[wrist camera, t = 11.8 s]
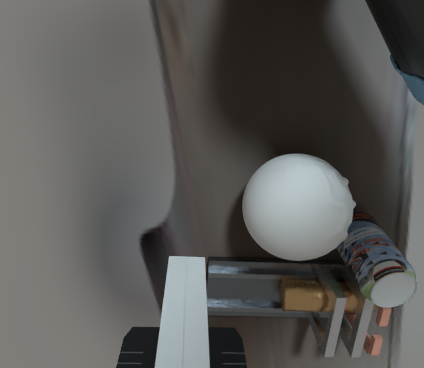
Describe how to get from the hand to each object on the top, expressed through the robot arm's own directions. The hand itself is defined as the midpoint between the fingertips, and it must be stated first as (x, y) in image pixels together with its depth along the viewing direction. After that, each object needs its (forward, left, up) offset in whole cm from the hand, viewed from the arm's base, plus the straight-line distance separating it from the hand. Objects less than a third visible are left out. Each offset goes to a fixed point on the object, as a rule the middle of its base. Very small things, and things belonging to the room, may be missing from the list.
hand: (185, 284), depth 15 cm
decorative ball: (+6, +12, -30) cm, 33 cm away
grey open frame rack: (+21, +15, -29) cm, 39 cm away
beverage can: (+12, +22, -30) cm, 39 cm away
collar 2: (+21, +22, -29) cm, 42 cm away
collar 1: (+21, +19, -29) cm, 41 cm away
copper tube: (+21, +19, -28) cm, 40 cm away
